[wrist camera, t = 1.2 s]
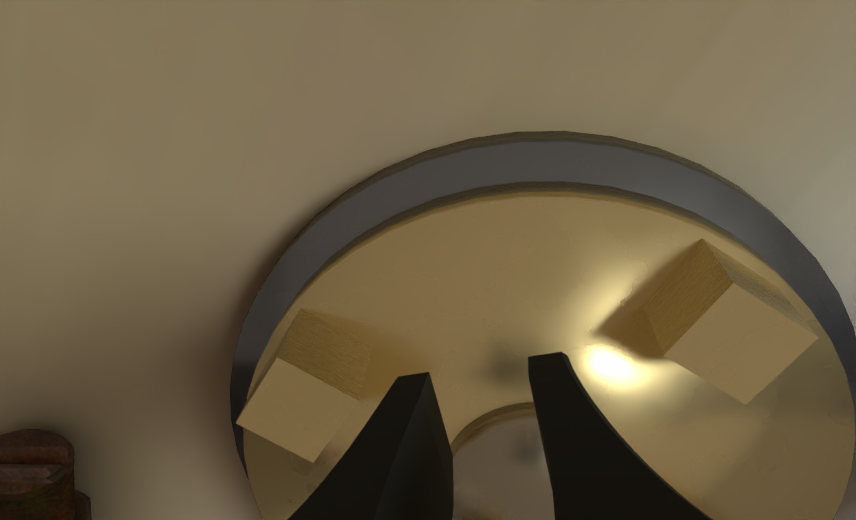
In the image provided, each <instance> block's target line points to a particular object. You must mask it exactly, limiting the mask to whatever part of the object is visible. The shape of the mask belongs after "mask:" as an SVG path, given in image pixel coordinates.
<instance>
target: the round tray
mask: <svg viewBox="0 0 856 520" xmlns="http://www.w3.org/2000/svg"><path fill="white" fill-rule="evenodd" d="M555 352H563V353H564V354H566V355H567V356H569V360H570V363H571V365H572V367H573V369H574V371H575V373H576V375H577V377H578V378H579V380H580V382H581V383H582V385H583V386H584V388H585V390H586V391H587V393H588V394H589V396H590V397H591V398H592V400H593V401H594V403H595V404H596V405H597V407H598V408H599V409H600V411H601V412H602V413H603V414H604V416H605V417H606V418H607V420H608V421H609V422H610V423H611V425H612V426H613V427H614V428H615V429H616V431H617V432H618V433H619V434H620V435H621V436H622V438H623V439H624V440H625V441H626V442H627V443H628V444H629V445H630V446H631V448H632V449H633V450H634V451H635V452H636V453H637V454H638V455H639V456H640V457H641V458H642V459H643V460H644V461H645V462H646V463H647V464H648V465H649V466H650V467H651V468H652V469H653V470H654V471H655V472H656V473H657V474H658V475H659V476H660V477H662V478H663V479H664V480H665V481H666V482H667V483H668V484H669V485H670V486H672V487H673V488H674V489H675V490H676V491H677V492H679V493H680V494H681V495H682V496H683V497H684V498H685V499H687V500H688V501H689V502H690V503H692V504H693V505H694V506H696V507H697V508H698V509H700V510H701V511H702V512H704V513H705V514H706V515H708V516H709V517H710V518H712V519H713V520H833V519H834V517H835V515H836V513H837V511H838V509H839V507H840V504H841V502H842V500H843V497H844V494H845V490H846V487H847V484H848V481H849V477H850V474H851V471H852V463H853V455H854V447H855V439H856V437H855V419H854V405H853V401H852V397H851V392H850V388H849V384H848V380H847V376H846V372H845V370H844V368H843V366H842V363H841V361H840V359H839V357H838V354H837V352H836V350H835V348H834V346H833V343H832V341H831V339H830V338H829V336H828V335H827V333H826V332H825V330H824V329H823V327H822V326H821V325H820V323H819V322H818V320H817V319H816V317H815V316H814V314H813V313H812V311H811V310H810V308H809V307H808V306H807V305H806V304H805V303H804V301H803V300H802V299H801V298H800V297H799V295H798V294H797V293H796V292H795V291H794V290H793V288H792V287H791V286H790V285H789V284H788V283H787V282H786V281H785V280H784V279H783V277H782V276H781V275H780V274H779V273H778V272H777V271H776V270H775V269H774V268H773V267H772V266H771V265H770V264H769V263H768V262H767V261H766V260H765V259H764V258H763V257H762V256H761V255H760V254H758V253H757V252H756V251H754V250H753V249H752V248H750V247H749V246H748V245H747V244H745V243H744V242H743V241H741V240H740V239H739V238H737V237H736V236H735V235H734V234H732V233H731V232H729V231H727V230H725V229H723V228H722V227H720V226H718V225H716V224H714V223H713V222H711V221H709V220H707V219H706V218H704V217H702V216H700V215H698V214H697V213H695V212H692V211H689V210H687V209H684V208H682V207H679V206H677V205H674V204H671V203H669V202H666V201H664V200H661V199H659V198H656V197H653V196H649V195H645V194H641V193H636V192H632V191H628V190H624V189H620V188H616V187H612V186H604V185H595V184H586V183H578V182H569V181H539V182H515V183H508V184H500V185H493V186H485V187H477V188H473V189H470V190H466V191H462V192H458V193H454V194H450V195H447V196H443V197H439V198H435V199H433V200H430V201H428V202H425V203H423V204H420V205H418V206H415V207H413V208H410V209H408V210H405V211H403V212H400V213H398V214H395V215H394V216H392V217H390V218H388V219H386V220H385V221H383V222H381V223H379V224H378V225H376V226H374V227H372V228H371V229H369V230H367V231H365V232H363V233H362V234H360V235H359V236H357V237H356V238H355V239H353V240H352V241H351V242H350V243H348V244H347V245H346V246H344V247H343V248H342V249H340V250H339V251H338V252H336V253H335V254H334V255H332V256H331V257H330V258H329V259H328V260H327V261H326V262H325V263H324V264H323V265H322V266H321V267H320V268H319V269H318V270H317V271H316V272H315V273H314V274H313V275H312V276H311V277H310V278H309V279H308V280H307V281H306V282H305V283H304V285H303V286H302V287H301V289H300V290H299V292H298V293H297V294H296V296H295V297H294V298H293V300H292V301H291V303H290V304H289V305H288V307H287V308H286V309H285V311H284V313H283V315H282V317H281V319H280V320H279V322H278V324H277V326H276V328H275V330H274V332H273V334H272V336H271V338H270V340H269V342H268V344H267V346H266V348H265V350H264V352H263V354H262V356H261V358H260V360H259V362H258V364H257V366H256V369H255V372H254V375H253V379H252V382H251V385H250V388H249V391H248V395H247V401H246V403H245V405H244V407H243V409H242V411H241V413H240V415H239V417H238V419H237V421H236V424H238V425H240V426H242V427H243V438H244V458H245V463H246V468H247V473H248V478H249V483H250V486H251V489H252V492H253V495H254V497H255V500H256V503H257V505H258V508H259V511H260V513H261V515H262V517H263V519H264V520H287V519H288V518H289V517H290V516H291V515H292V514H293V513H294V512H295V511H296V510H297V509H298V508H299V507H300V506H301V505H302V504H303V503H304V502H305V501H306V500H307V499H308V497H309V496H310V495H311V494H312V493H313V492H314V491H315V490H316V488H317V487H318V486H319V485H320V484H321V483H322V481H323V480H324V479H325V478H326V476H327V475H328V474H329V473H330V471H331V470H332V469H333V468H334V466H335V465H336V464H337V463H338V461H339V460H340V459H341V458H342V456H343V455H344V454H345V452H346V451H347V450H348V448H349V447H350V445H351V444H352V443H353V441H354V440H355V438H356V437H357V436H358V434H359V433H360V431H361V430H362V429H363V427H364V426H365V424H366V423H367V421H368V420H369V418H370V417H371V415H372V414H373V413H374V411H375V410H376V408H377V407H378V405H379V404H380V402H381V401H382V399H383V398H384V396H385V395H386V393H387V392H388V390H389V389H390V387H391V386H392V384H393V383H394V381H395V380H396V379H397V377H398V376H405V375H411V374H418V373H424V372H429V373H430V376H431V380H432V383H433V387H434V390H435V394H436V397H437V401H438V405H439V408H440V412H441V415H442V419H443V422H444V426H445V429H446V433H447V437H448V440H449V444H450V447H451V451H452V454H453V481H454V507H453V518H452V520H555V514H554V503H553V492H552V487H551V483H550V478H549V473H548V468H547V463H546V459H545V454H544V449H543V444H542V440H541V435H540V430H539V425H538V420H537V416H536V411H535V406H534V401H533V397H532V392H531V387H530V382H529V376H528V357H529V356H536V355H542V354H549V353H555Z"/></svg>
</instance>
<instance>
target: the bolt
mask: <svg viewBox="0 0 856 520" xmlns="http://www.w3.org/2000/svg"><path fill="white" fill-rule="evenodd" d="M74 486H75V484H74V448H73V446H72V444H71V443H70V442H69V441H67V440H66V439H64V438H63V437H61V436H59V435H56V434H54V433H51V432H49V431H43V430H37V429H28V430H21V431H16V432H12V433H7V434H3V435H0V520H92V519H91V503H90V497H88V496H87V495H85V494H83V493H81V492H79V491H77V490H75V489H74Z"/></svg>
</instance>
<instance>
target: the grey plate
mask: <svg viewBox="0 0 856 520" xmlns="http://www.w3.org/2000/svg"><path fill="white" fill-rule="evenodd" d="M539 181H569V182H578V183H586V184H595V185H604V186H612V187H616V188H620V189H624V190H628V191H632V192H636V193H641V194H645V195H649V196H653V197H656V198H659V199H661V200H664V201H666V202H669V203H671V204H674V205H677V206H679V207H682V208H684V209H687V210H689V211H692V212H695V213H697V214H698V215H700V216H702V217H704V218H706V219H707V220H709V221H711V222H713V223H714V224H716V225H718V226H720V227H722V228H723V229H725V230H727V231H729V232H731V233H732V234H734V235H735V236H736V237H737V238H739V239H740V240H741V241H743V242H744V243H745V244H747V245H748V246H749V247H750V248H752V249H753V250H754V251H756V252H757V253H758V254H760V255H761V256H762V257H763V258H764V259H765V260H766V261H767V262H768V263H769V264H770V265H771V266H772V267H773V268H774V269H775V270H776V271H777V272H778V273H779V274H780V275H781V276H782V277H783V279H784V280H785V281H786V282H787V283H788V284H789V285H790V286H791V287H792V288H793V290H794V291H795V292H796V293H797V294H798V295H799V297H800V298H801V299H802V300H803V301H804V303H805V304H806V305H807V306H808V307H809V308H810V310H811V311H812V313H813V314H814V316H815V317H816V319H817V320H818V322H819V323H820V325H821V326H822V327H823V329H824V330H825V332H826V333H827V335H828V336H829V338H830V339H831V341H832V343H833V346H834V348H835V350H836V352H837V354H838V357H839V359H840V361H841V363H842V366H843V368H844V370H845V372H846V376H847V380H848V384H849V388H850V392H851V397H852V401H853V405H854V419H855V437H856V336H855V332H854V328H853V325H852V323H851V321H850V318H849V316H848V314H847V311H846V309H845V307H844V304H843V302H842V300H841V297H840V295H839V293H838V291H837V290H836V288H835V287H834V285H833V284H832V282H831V281H830V279H829V277H828V276H827V274H826V273H825V271H824V270H823V268H822V267H821V265H820V264H819V262H818V261H817V259H816V258H815V257H814V256H813V255H812V254H811V253H810V252H809V251H808V250H807V248H806V247H805V246H804V245H803V244H802V243H801V242H800V241H799V240H798V239H797V238H796V237H795V236H794V234H793V233H792V232H791V231H790V230H789V229H788V228H787V227H786V226H785V225H784V224H783V223H782V222H781V221H780V220H779V219H778V218H777V217H776V216H775V215H774V214H773V213H772V212H771V211H769V210H768V209H767V208H766V207H764V206H763V205H762V204H761V203H759V202H758V201H757V200H755V199H754V198H753V197H752V196H750V195H749V194H748V193H747V192H745V191H744V190H743V189H741V188H740V187H739V186H737V185H735V184H734V183H732V182H730V181H728V180H727V179H725V178H723V177H721V176H720V175H718V174H716V173H714V172H713V171H711V170H709V169H707V168H706V167H704V166H702V165H700V164H698V163H695V162H693V161H690V160H688V159H685V158H683V157H680V156H678V155H675V154H672V153H670V152H667V151H665V150H662V149H660V148H657V147H653V146H649V145H645V144H641V143H637V142H633V141H629V140H625V139H621V138H616V137H612V136H603V135H595V134H586V133H577V132H568V131H545V132H513V133H506V134H499V135H492V136H485V137H478V138H471V139H467V140H464V141H460V142H457V143H453V144H449V145H446V146H442V147H439V148H435V149H431V150H428V151H425V152H422V153H420V154H418V155H415V156H413V157H411V158H408V159H406V160H404V161H401V162H399V163H396V164H394V165H392V166H389V167H387V168H385V169H383V170H381V171H380V172H378V173H376V174H375V175H373V176H371V177H370V178H368V179H366V180H364V181H363V182H361V183H359V184H358V185H356V186H354V187H353V188H351V189H349V190H348V191H346V192H345V193H344V194H343V195H341V196H340V197H339V198H338V199H336V200H335V201H334V202H333V203H331V204H330V205H329V206H328V207H326V208H325V209H324V210H323V211H321V212H320V213H319V214H318V215H316V216H315V218H314V219H313V220H312V221H311V222H310V223H309V224H308V225H307V226H306V227H305V228H304V229H303V230H302V231H301V232H300V233H299V235H298V236H297V237H296V238H295V239H294V240H293V241H292V242H291V243H290V244H289V246H288V247H287V249H286V250H285V252H284V253H283V255H282V256H281V258H280V259H279V260H278V262H277V263H276V265H275V266H274V268H273V269H272V271H271V272H270V273H269V275H268V277H267V278H266V280H265V282H264V283H263V285H262V286H261V288H260V290H259V291H258V294H257V296H256V298H255V300H254V302H253V304H252V306H251V308H250V310H249V312H248V314H247V317H246V319H245V321H244V323H243V326H242V330H241V333H240V336H239V340H238V343H237V347H236V350H235V354H234V359H233V367H232V376H231V384H230V400H231V421H232V426H233V431H234V435H235V440H236V445H237V450H238V453H239V456H240V458H241V461H242V464H243V467H244V469H245V472H246V475H247V478H248V473H247V468H246V463H245V458H244V438H243V427H242V426H240V425H238V424H236V421H237V419H238V417H239V415H240V413H241V411H242V409H243V407H244V405H245V403H246V401H247V395H248V391H249V388H250V385H251V382H252V379H253V375H254V372H255V369H256V366H257V364H258V362H259V360H260V358H261V356H262V354H263V352H264V350H265V348H266V346H267V344H268V342H269V340H270V338H271V336H272V334H273V332H274V330H275V328H276V326H277V324H278V322H279V320H280V319H281V317H282V315H283V313H284V311H285V309H286V308H287V307H288V305H289V304H290V303H291V301H292V300H293V298H294V297H295V296H296V294H297V293H298V292H299V290H300V289H301V287H302V286H303V285H304V283H305V282H306V281H307V280H308V279H309V278H310V277H311V276H312V275H313V274H314V273H315V272H316V271H317V270H318V269H319V268H320V267H321V266H322V265H323V264H324V263H325V262H326V261H327V260H328V259H329V258H330V257H331V256H332V255H334V254H335V253H336V252H338V251H339V250H340V249H342V248H343V247H344V246H346V245H347V244H348V243H350V242H351V241H352V240H353V239H355V238H356V237H357V236H359V235H360V234H362V233H363V232H365V231H367V230H369V229H371V228H372V227H374V226H376V225H378V224H379V223H381V222H383V221H385V220H386V219H388V218H390V217H392V216H394V215H395V214H398V213H400V212H403V211H405V210H408V209H410V208H413V207H415V206H418V205H420V204H423V203H425V202H428V201H430V200H433V199H435V198H439V197H443V196H447V195H450V194H454V193H458V192H462V191H466V190H470V189H473V188H477V187H485V186H493V185H500V184H508V183H515V182H539ZM855 444H856V439H855ZM854 448H855V447H854ZM248 480H249V478H248Z"/></svg>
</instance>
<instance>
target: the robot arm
mask: <svg viewBox="0 0 856 520" xmlns="http://www.w3.org/2000/svg"><path fill="white" fill-rule="evenodd" d="M528 376H529V382H530V387H531V392H532V397H533V401H534V406H535V411H536V416H537V420H538V425H539V430H540V435H541V440H542V444H543V449H544V454H545V459H546V463H547V468H548V473H549V478H550V483H551V487H552V492H553V503H554V514H555V520H713V519H712V518H710V517H709V516H708V515H706V514H705V513H704V512H702V511H701V510H700V509H698V508H697V507H696V506H694V505H693V504H692V503H690V502H689V501H688V500H687V499H685V498H684V497H683V496H682V495H681V494H680V493H679V492H677V491H676V490H675V489H674V488H673V487H672V486H670V485H669V484H668V483H667V482H666V481H665V480H664V479H663V478H662V477H660V476H659V475H658V474H657V473H656V472H655V471H654V470H653V469H652V468H651V467H650V466H649V465H648V464H647V463H646V462H645V461H644V460H643V459H642V458H641V457H640V456H639V455H638V454H637V453H636V452H635V451H634V450H633V449H632V448H631V446H630V445H629V444H628V443H627V442H626V441H625V440H624V439H623V438H622V436H621V435H620V434H619V433H618V432H617V431H616V429H615V428H614V427H613V426H612V425H611V423H610V422H609V421H608V420H607V418H606V417H605V416H604V414H603V413H602V412H601V411H600V409H599V408H598V407H597V405H596V404H595V403H594V401H593V400H592V398H591V397H590V396H589V394H588V393H587V391H586V390H585V388H584V386H583V385H582V383H581V382H580V380H579V378H578V377H577V375H576V373H575V371H574V369H573V367H572V365H571V363H570V360H569V356H567V355H566V354H564V353H563V352H555V353H549V354H542V355H536V356H529V357H528ZM453 507H454V481H453V454H452V451H451V447H450V444H449V440H448V437H447V433H446V429H445V426H444V422H443V419H442V415H441V412H440V408H439V405H438V401H437V397H436V394H435V390H434V387H433V383H432V380H431V376H430V373H429V372H424V373H418V374H411V375H405V376H398V377H397V379H396V380H395V381H394V383H393V384H392V386H391V387H390V389H389V390H388V392H387V393H386V395H385V396H384V398H383V399H382V401H381V402H380V404H379V405H378V407H377V408H376V410H375V411H374V413H373V414H372V415H371V417H370V418H369V420H368V421H367V423H366V424H365V426H364V427H363V429H362V430H361V431H360V433H359V434H358V436H357V437H356V438H355V440H354V441H353V443H352V444H351V445H350V447H349V448H348V450H347V451H346V452H345V454H344V455H343V456H342V458H341V459H340V460H339V461H338V463H337V464H336V465H335V466H334V468H333V469H332V470H331V471H330V473H329V474H328V475H327V476H326V478H325V479H324V480H323V481H322V483H321V484H320V485H319V486H318V487H317V488H316V490H315V491H314V492H313V493H312V494H311V495H310V496H309V497H308V499H307V500H306V501H305V502H304V503H303V504H302V505H301V506H300V507H299V508H298V509H297V510H296V511H295V512H294V513H293V514H292V515H291V516H290V517H289V518H288V519H287V520H452V518H453Z"/></svg>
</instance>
